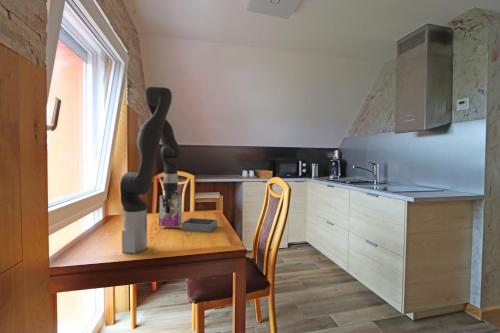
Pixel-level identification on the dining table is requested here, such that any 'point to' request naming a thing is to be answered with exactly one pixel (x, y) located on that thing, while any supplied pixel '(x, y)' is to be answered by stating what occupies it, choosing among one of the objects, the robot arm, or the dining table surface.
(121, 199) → the robot arm
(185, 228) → the tray
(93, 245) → the dining table surface
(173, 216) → the candy bar box
